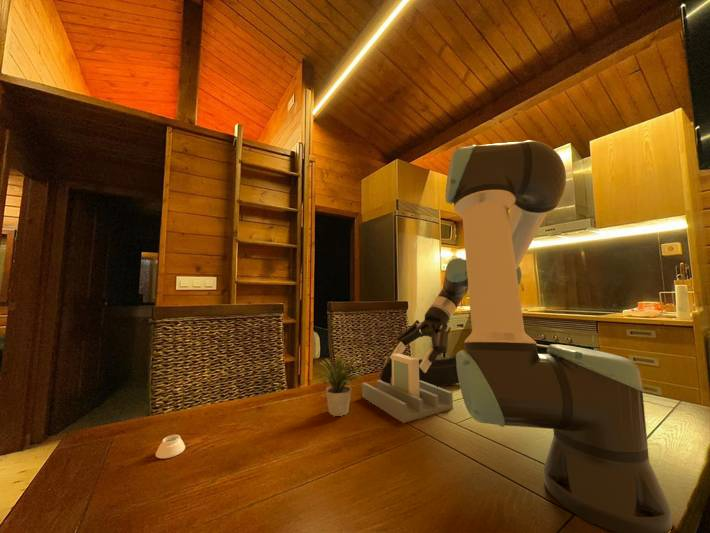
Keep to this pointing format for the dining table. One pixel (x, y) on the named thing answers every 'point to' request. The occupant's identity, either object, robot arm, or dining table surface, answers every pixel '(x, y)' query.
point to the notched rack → (408, 400)
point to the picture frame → (405, 373)
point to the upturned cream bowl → (170, 447)
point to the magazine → (429, 372)
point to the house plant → (339, 385)
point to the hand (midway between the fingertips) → (406, 364)
